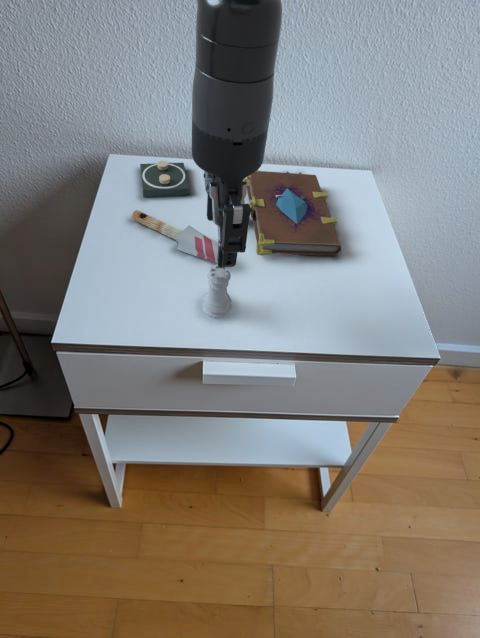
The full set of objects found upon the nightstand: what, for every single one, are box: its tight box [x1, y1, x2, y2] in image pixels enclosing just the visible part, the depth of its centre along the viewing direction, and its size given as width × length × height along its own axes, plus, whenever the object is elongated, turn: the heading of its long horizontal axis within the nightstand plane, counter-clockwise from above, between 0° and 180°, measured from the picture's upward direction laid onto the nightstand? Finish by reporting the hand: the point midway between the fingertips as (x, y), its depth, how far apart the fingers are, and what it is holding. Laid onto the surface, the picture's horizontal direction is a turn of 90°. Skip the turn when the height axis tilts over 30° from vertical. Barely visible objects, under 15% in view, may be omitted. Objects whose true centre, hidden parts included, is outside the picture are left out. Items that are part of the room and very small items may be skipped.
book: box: [243, 169, 342, 257], centre depth 78 cm, size 16×25×5 cm, turn 6°
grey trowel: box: [131, 209, 218, 264], centre depth 71 cm, size 4×3×20 cm
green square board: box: [139, 162, 190, 198], centre depth 81 cm, size 8×8×2 cm
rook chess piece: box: [201, 263, 232, 318], centre depth 62 cm, size 4×4×8 cm
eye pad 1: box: [157, 160, 169, 170], centre depth 82 cm, size 2×2×1 cm
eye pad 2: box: [159, 174, 170, 184], centre depth 79 cm, size 2×2×1 cm
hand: (220, 241), depth 54 cm, fingers open, 8 cm apart
